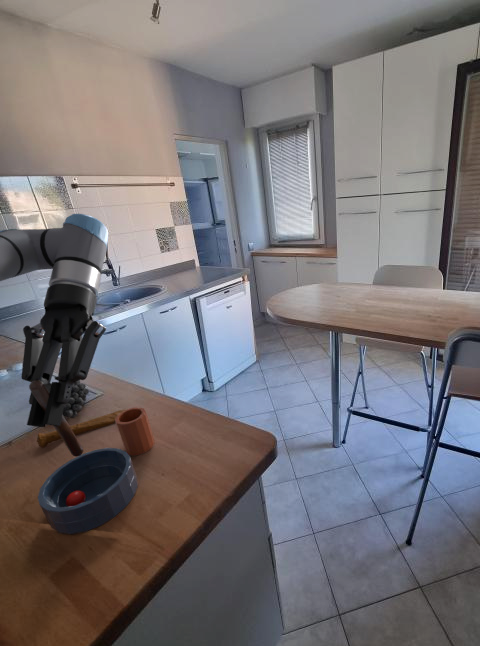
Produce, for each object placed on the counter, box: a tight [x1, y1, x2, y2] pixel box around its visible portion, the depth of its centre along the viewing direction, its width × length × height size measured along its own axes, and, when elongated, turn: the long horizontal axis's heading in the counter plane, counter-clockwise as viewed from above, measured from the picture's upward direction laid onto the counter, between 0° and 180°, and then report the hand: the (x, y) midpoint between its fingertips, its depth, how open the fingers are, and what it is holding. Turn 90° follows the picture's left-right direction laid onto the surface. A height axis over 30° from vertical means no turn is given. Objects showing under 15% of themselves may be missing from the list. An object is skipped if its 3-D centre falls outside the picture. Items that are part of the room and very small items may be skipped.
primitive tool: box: [36, 409, 126, 449], centre depth 82 cm, size 19×6×4 cm, turn 127°
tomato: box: [66, 491, 86, 507], centre depth 61 cm, size 3×3×3 cm
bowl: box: [37, 447, 139, 535], centre depth 62 cm, size 15×15×6 cm
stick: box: [28, 380, 84, 458], centre depth 55 cm, size 2×2×17 cm
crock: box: [114, 406, 155, 456], centre depth 74 cm, size 6×6×9 cm
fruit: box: [57, 380, 90, 419], centre depth 90 cm, size 9×8×15 cm
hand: (43, 425), depth 52 cm, fingers closed on stick, 2 cm apart
